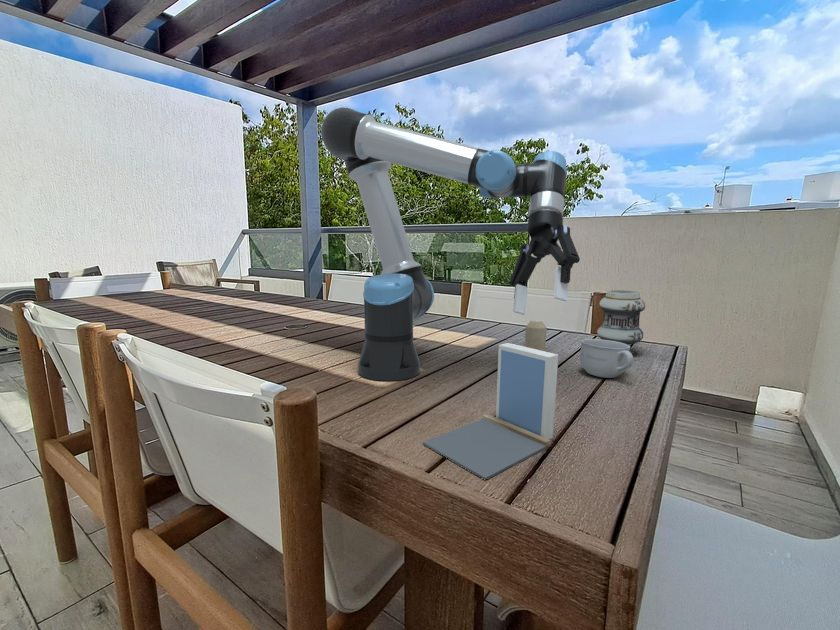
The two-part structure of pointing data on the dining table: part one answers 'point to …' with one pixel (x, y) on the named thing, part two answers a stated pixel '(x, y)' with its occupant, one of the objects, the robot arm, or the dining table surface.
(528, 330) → the candle
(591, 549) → the dining table surface
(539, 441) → the oak strip
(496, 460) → the mat
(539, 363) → the tile
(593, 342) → the teacup
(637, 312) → the apothecary jar
